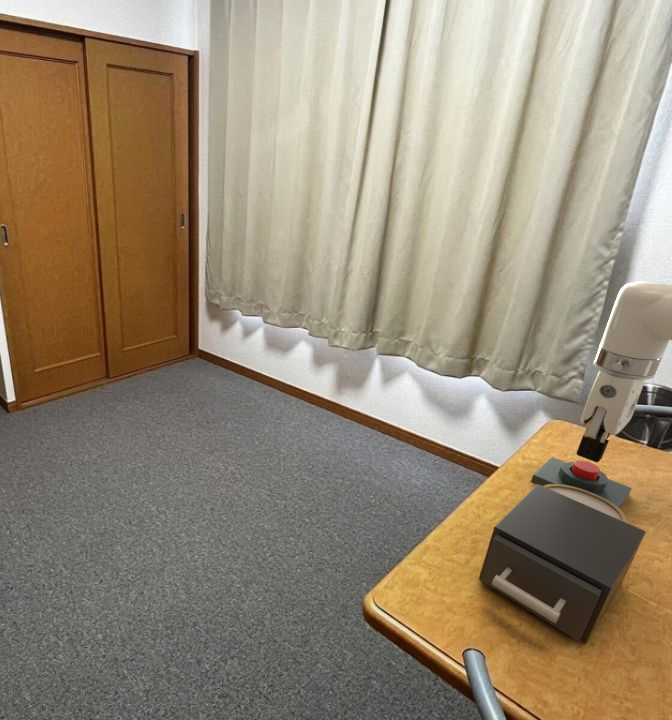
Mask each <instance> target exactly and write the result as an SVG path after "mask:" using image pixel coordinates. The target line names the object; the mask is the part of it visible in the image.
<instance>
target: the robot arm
mask: <svg viewBox="0 0 672 720" xmlns="http://www.w3.org/2000/svg"><path fill="white" fill-rule="evenodd" d="M670 341H672V285H671V284H667V283H666V284H665V283H658V282H653V281H652V282H651V281H635V282H629V283H626V284H624V285H623V286H622V287H621V288H620V289H619V291H618V294H617V296H616V298H615V301H614V304H613V307H612V310H611V313H610V315H609V318H608V321H607V324H606V327H605V330H604V332H603V334H602V338H601V340H600V343H599V346H598V349H597V351H596V354H595V357H594V359H593V362H592V365H593V366H594V367H595V368H596V369H597V370H598V372H597V375H596V376H595V379H594V382H593V384H592V387H591V389H590V392H589V394H588V397H587V400H586V402H585V405H584V408H583V411H582V413H581V417H580V424H581V425H582V426H585V425H586V428H585V431H584V434H582V437H581V440H580V443H579V445H578V447H577V450H576V455H577V456H579V457H581V458H584V459H586V460H589V461H591V462H593V463H599V462H600V461H601V460H602V459H603V456H604V454H605V452H606V450H607V446H608V444H609V441H610V440H609V439H610V437H611V436H616V435H618V434H619V433H620V432H621V431H622V430H624V428H625V427H626V426H627V425H628V423H629V422H630V421H631V419H632V417H633V415H634V413H635V409H636V407H637V404H638V401H639V398H640V396H641V393H642V390H643V388H644V384H645V381H646V380H651V379H653V378H654V377H655V375H656V373H657V371H658V368H659V366H660V363H661V362H662V359H663V356H664V354H665V352H666V350H667V347H668V345H669V342H670Z"/></svg>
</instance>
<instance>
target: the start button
mask: <svg viewBox="0 0 672 720" xmlns="http://www.w3.org/2000/svg"><path fill="white" fill-rule="evenodd" d="M573 462H574V464H573V467H572V470H571V471H572V473H573V474H575V475H576V476H578V477H580V478H583V479H586V480H592V481H593V480H596V479H597V477H598V474H599V472H600V471H601V469H600V467H599V466H598V465H596V464H595V463H593V462H590V461H586V460H582V459H581V460H575V461H573Z"/></svg>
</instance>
